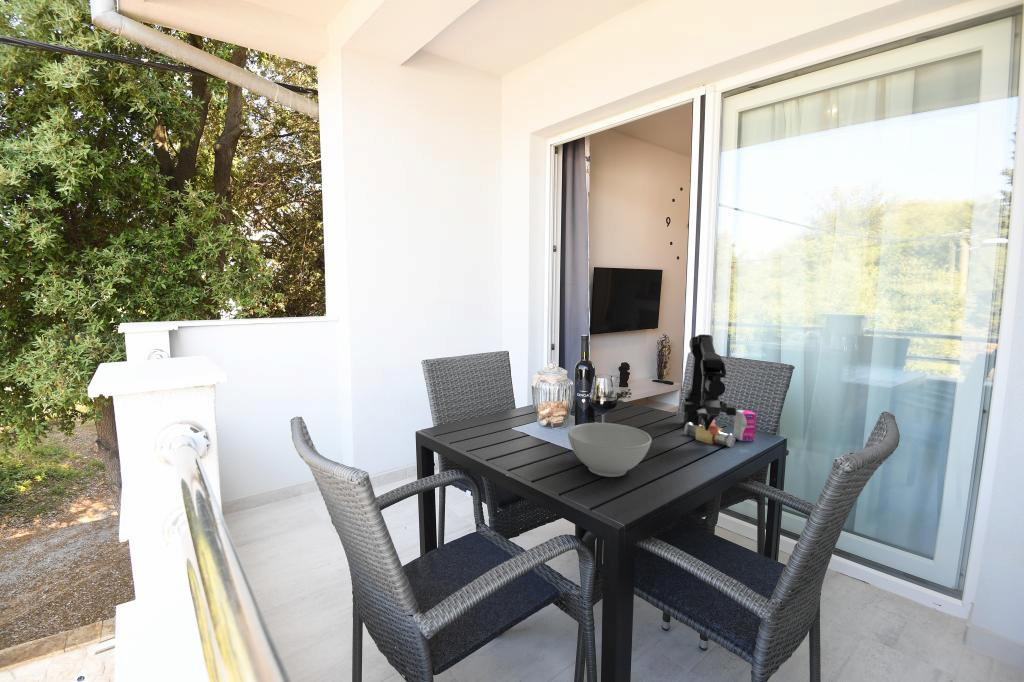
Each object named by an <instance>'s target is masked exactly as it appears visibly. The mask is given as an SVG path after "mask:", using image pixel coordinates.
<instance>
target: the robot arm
mask: <svg viewBox="0 0 1024 682" xmlns="http://www.w3.org/2000/svg"><path fill="white" fill-rule="evenodd" d="M713 341H714V340H713V336H712V334H711V335H710V334H702V333H701V334H697V335H696V336H693V337H691V338H690V340H689V348H690V352H691V354H692V356H693V357H692V358H693V360H692V370H691V379H690V388H689V389H688V390H687V391H686V393H685V397H684V399H683V401H682V402H681V407H680V408H681V409H682V411H683V412H684V415H683V416H684V417H683V422H681V424H682V425H684V426H685V425H686V423H688V422H692V423H693V424H694V425H697V426H698V425H704V427H705V430H706V431H708V429H709V427H710V425H711V423H712V421H713V420H715V419H716V418H717V417H720V414H721V413H725V414H726V415H727V416H734V417H735V416H736V410H737V409H736V407H734V406H733V405H732V404H728V402H727V401H725V400H720V399H719V397H720V396H722V395H724V394H725V391H726V385H725V383H724V382H723V381H722V380H721V378H726V375H727V370H726V369H727V368H726V365H725V362H724V361H723V359H722V357H721V355H720V354H718V353H716V350H715V346H714V342H713Z"/></svg>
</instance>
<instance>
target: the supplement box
mask: <svg viewBox="0 0 1024 682" xmlns="http://www.w3.org/2000/svg"><path fill="white" fill-rule="evenodd" d="M756 420H757V414H756V413H755V412H753V411H751V410H749V409H748V410H747V409H746V410H745V409H736V416H734V425H733V433H732V434H734V435H735V440H737V441H738V442H754V439H755V430H756Z"/></svg>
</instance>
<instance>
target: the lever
mask: <svg viewBox="0 0 1024 682" xmlns="http://www.w3.org/2000/svg"><path fill="white" fill-rule="evenodd" d="M718 428H719V426H717V425H716V420H715V419H714V420H713V421H712V423H711V425H710V427H709V429H708V430H709V431H710V434H712V435H718Z"/></svg>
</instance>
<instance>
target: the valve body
mask: <svg viewBox="0 0 1024 682" xmlns="http://www.w3.org/2000/svg"><path fill="white" fill-rule="evenodd" d="M683 430H684V433H685V434H686V435H689V436H691V435H693V436H695V440H697V441H700V442H702V443H706V444H709V445H714V444H716V445H717V444H718V445H720V444H723V445H725V446H726V447H728V448H733V446H734V445H735V443H736V438H735V435H734V434H733V433H724V432H723V428H722V427H718V435H712V434H710V431H709V430H708V431H706V430H705V427H704V424H702V425H698V426H697V425H694V424H693V423H692V422H688V423H686V425H685V424H684V429H683Z"/></svg>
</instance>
